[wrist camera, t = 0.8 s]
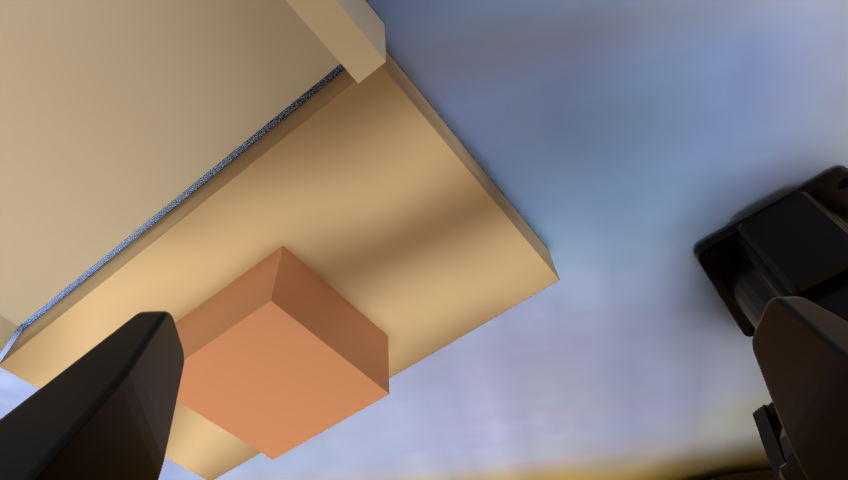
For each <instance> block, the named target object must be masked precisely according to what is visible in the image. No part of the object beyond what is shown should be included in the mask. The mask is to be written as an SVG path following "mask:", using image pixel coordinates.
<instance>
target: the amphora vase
mask: <svg viewBox="0 0 848 480" xmlns="http://www.w3.org/2000/svg"><path fill="white" fill-rule="evenodd" d="M709 480H776V478H775V476H774V473H773V471H769V470H762V471H753V472H745V473H738V474H730V475H724V476H720V477H716V478H713V479H709Z"/></svg>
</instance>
